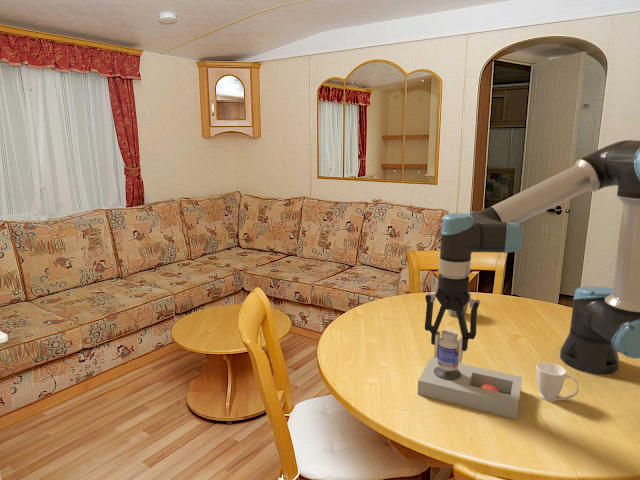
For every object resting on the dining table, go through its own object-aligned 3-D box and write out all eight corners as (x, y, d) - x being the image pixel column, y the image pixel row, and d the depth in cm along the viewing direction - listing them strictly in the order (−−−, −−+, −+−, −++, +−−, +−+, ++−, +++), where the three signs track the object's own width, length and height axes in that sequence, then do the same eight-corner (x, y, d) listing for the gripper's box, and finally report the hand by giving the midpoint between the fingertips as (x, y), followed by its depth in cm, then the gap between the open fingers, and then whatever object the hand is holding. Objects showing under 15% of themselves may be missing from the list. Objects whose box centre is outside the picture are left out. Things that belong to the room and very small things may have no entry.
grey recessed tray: (520, 390, 119) (522, 375, 118) (516, 419, 107) (518, 403, 106) (430, 369, 130) (431, 356, 129) (417, 394, 118) (418, 379, 117)
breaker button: (499, 392, 117) (500, 386, 117) (497, 401, 113) (498, 395, 113) (481, 388, 119) (482, 382, 119) (479, 397, 115) (480, 391, 115)
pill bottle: (458, 372, 117) (461, 337, 115) (437, 370, 118) (439, 336, 116) (457, 362, 122) (459, 329, 120) (436, 360, 123) (438, 327, 121)
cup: (534, 386, 121) (537, 359, 119) (576, 396, 117) (580, 368, 115) (532, 399, 115) (535, 371, 113) (576, 410, 111) (581, 381, 109)
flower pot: (439, 311, 173) (440, 290, 172) (460, 308, 176) (461, 287, 174) (453, 320, 165) (454, 298, 163) (475, 317, 167) (476, 295, 165)
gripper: (494, 275, 113) (486, 359, 119) (421, 266, 122) (417, 345, 127) (490, 284, 107) (482, 372, 112) (414, 273, 115) (410, 356, 120)
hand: (448, 358), depth 119 cm, fingers closed on pill bottle, 5 cm apart
